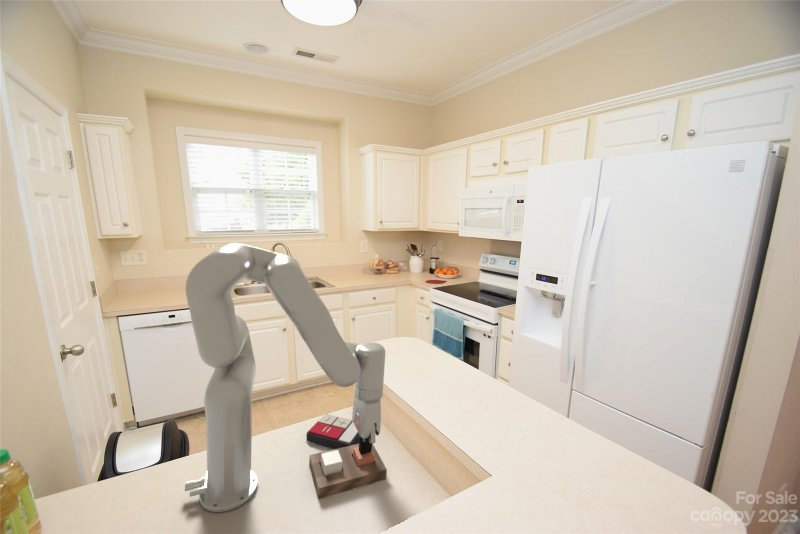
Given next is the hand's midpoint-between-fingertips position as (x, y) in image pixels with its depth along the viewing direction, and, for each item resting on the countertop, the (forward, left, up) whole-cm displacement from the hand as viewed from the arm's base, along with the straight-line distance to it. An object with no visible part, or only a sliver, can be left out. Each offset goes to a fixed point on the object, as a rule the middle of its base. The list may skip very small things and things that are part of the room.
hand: (365, 451), depth 91 cm
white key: (-9, 0, -3) cm, 10 cm away
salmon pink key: (0, 0, -4) cm, 4 cm away
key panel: (-5, 0, -5) cm, 7 cm away
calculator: (-4, +15, -6) cm, 17 cm away
